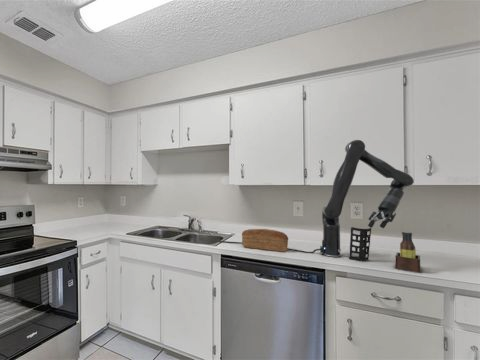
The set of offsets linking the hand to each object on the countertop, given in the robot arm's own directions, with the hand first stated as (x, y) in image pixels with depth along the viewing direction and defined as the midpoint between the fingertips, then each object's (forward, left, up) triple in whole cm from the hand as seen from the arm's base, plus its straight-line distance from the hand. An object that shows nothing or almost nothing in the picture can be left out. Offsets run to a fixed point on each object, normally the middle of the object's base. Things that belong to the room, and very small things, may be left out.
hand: (375, 227), depth 152 cm
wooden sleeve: (+14, +3, -21) cm, 26 cm away
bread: (-61, -11, -22) cm, 65 cm away
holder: (-7, +4, -22) cm, 23 cm away
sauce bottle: (+14, +3, -22) cm, 26 cm away
